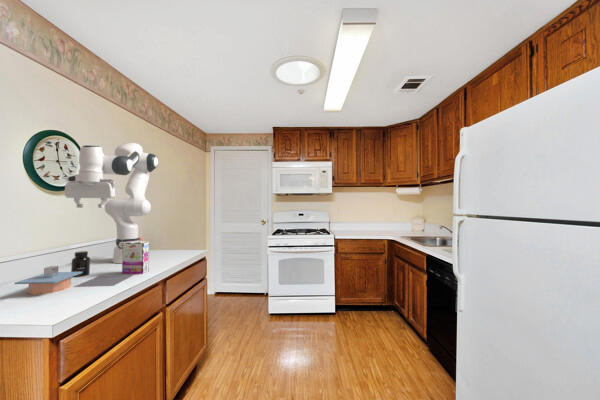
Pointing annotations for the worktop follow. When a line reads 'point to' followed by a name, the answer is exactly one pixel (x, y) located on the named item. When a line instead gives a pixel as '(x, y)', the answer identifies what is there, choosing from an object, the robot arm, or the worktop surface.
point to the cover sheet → (48, 280)
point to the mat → (104, 281)
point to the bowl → (49, 287)
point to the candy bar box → (135, 257)
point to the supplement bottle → (81, 263)
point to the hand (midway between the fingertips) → (90, 207)
